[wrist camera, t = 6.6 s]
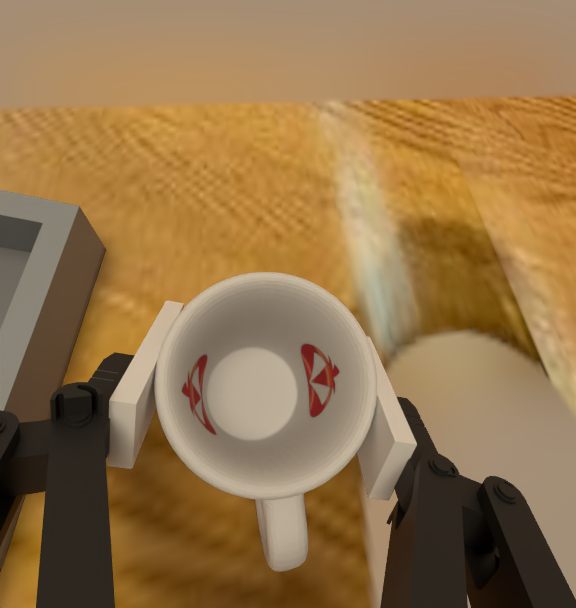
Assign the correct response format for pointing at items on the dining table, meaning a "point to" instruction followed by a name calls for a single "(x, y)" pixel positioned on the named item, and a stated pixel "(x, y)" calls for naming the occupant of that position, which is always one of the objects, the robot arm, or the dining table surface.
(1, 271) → the tray
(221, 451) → the cup
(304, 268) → the dining table surface
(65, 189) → the dining table surface
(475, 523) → the robot arm
